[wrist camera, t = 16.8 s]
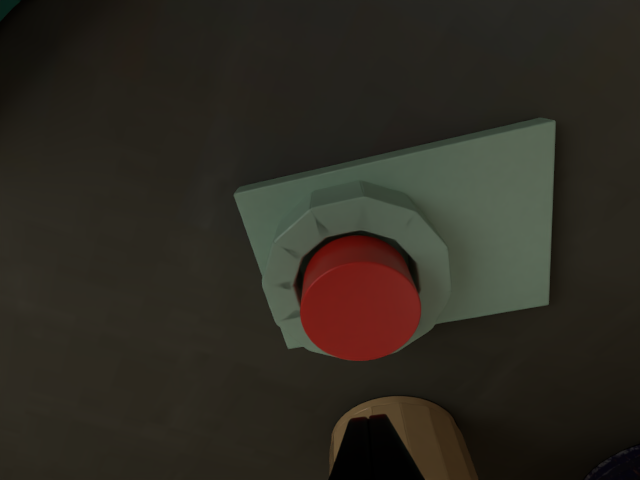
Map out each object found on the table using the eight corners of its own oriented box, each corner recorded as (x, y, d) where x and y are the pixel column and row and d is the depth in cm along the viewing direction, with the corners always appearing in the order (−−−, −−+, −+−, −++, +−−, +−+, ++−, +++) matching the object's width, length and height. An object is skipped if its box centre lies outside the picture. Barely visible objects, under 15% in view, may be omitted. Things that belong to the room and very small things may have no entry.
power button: (401, 224, 13) (413, 250, 11) (415, 315, 14) (428, 351, 12) (291, 246, 13) (285, 275, 11) (317, 331, 15) (315, 369, 13)
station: (541, 116, 13) (595, 128, 11) (537, 292, 17) (578, 335, 14) (238, 186, 15) (218, 212, 12) (289, 335, 18) (282, 382, 15)
